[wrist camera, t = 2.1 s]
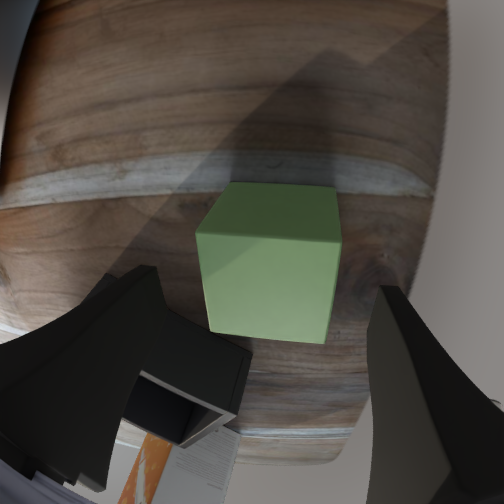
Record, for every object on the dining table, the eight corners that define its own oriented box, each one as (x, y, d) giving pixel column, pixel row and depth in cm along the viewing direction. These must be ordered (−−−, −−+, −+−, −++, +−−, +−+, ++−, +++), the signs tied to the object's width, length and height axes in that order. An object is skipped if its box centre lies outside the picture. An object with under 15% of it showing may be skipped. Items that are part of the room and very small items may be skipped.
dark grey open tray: (253, 353, 19) (237, 415, 15) (200, 403, 24) (184, 449, 20) (106, 272, 18) (65, 322, 14) (91, 344, 23) (65, 385, 19)
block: (326, 274, 15) (325, 345, 11) (235, 267, 16) (209, 332, 12) (335, 186, 12) (342, 241, 9) (229, 181, 13) (193, 231, 10)
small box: (186, 404, 24) (137, 537, 14) (243, 434, 26) (210, 558, 15) (150, 420, 29) (107, 523, 18) (199, 446, 30) (166, 545, 19)
